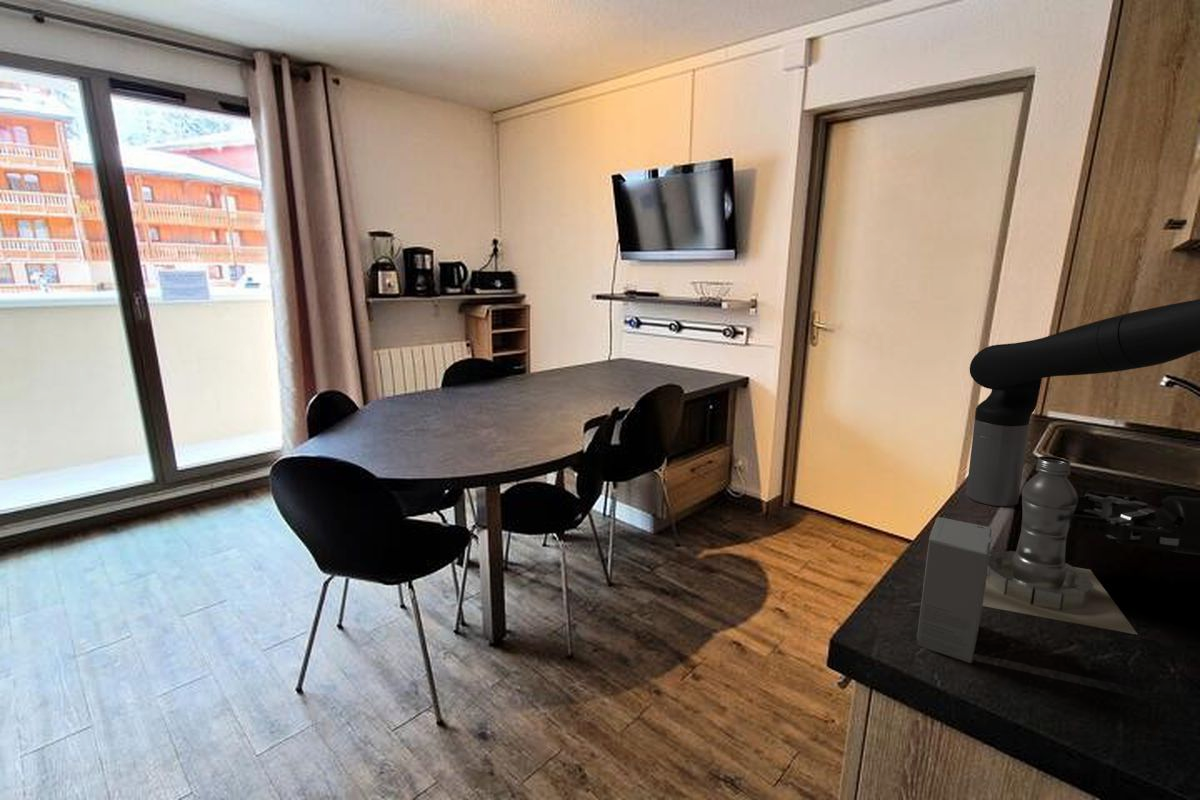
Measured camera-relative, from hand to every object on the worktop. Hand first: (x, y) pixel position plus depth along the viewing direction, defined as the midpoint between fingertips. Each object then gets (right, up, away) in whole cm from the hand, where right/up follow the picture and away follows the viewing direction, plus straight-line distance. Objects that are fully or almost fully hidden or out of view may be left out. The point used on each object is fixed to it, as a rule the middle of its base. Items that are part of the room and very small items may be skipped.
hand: (1061, 510), depth 81 cm
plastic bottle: (-1, -12, +4) cm, 13 cm away
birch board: (-1, -13, +4) cm, 14 cm away
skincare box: (-21, -16, -7) cm, 27 cm away
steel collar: (-1, -12, +3) cm, 13 cm away
